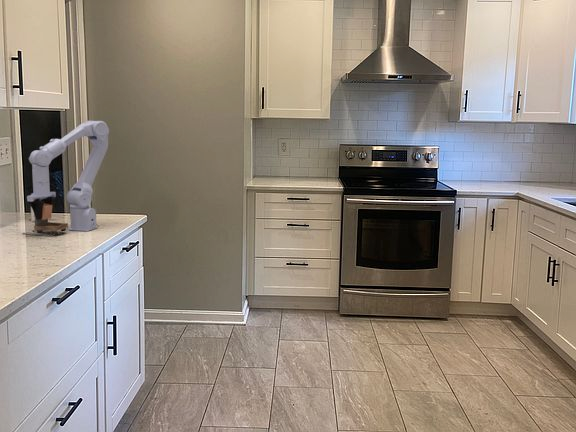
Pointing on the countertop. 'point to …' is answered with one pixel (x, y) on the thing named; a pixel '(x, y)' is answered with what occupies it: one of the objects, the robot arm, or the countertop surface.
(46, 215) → the terracotta block
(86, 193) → the robot arm
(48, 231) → the rails
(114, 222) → the countertop surface
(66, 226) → the cart
